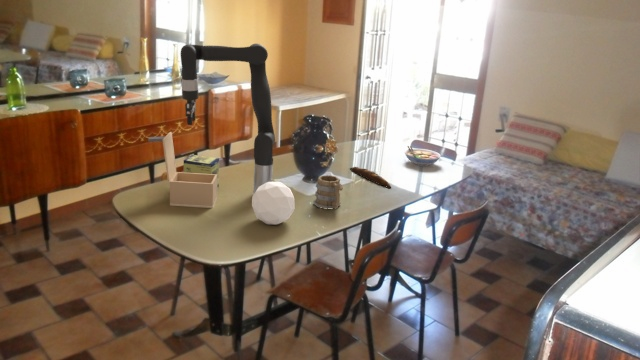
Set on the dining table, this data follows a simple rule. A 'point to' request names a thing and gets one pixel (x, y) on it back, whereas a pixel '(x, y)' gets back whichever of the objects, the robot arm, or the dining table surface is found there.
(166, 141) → the lid flap
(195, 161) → the protein box
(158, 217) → the dining table surface
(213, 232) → the dining table surface
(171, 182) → the carton
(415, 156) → the ramen bowl
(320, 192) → the tankard
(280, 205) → the ball
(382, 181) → the bread
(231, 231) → the dining table surface
